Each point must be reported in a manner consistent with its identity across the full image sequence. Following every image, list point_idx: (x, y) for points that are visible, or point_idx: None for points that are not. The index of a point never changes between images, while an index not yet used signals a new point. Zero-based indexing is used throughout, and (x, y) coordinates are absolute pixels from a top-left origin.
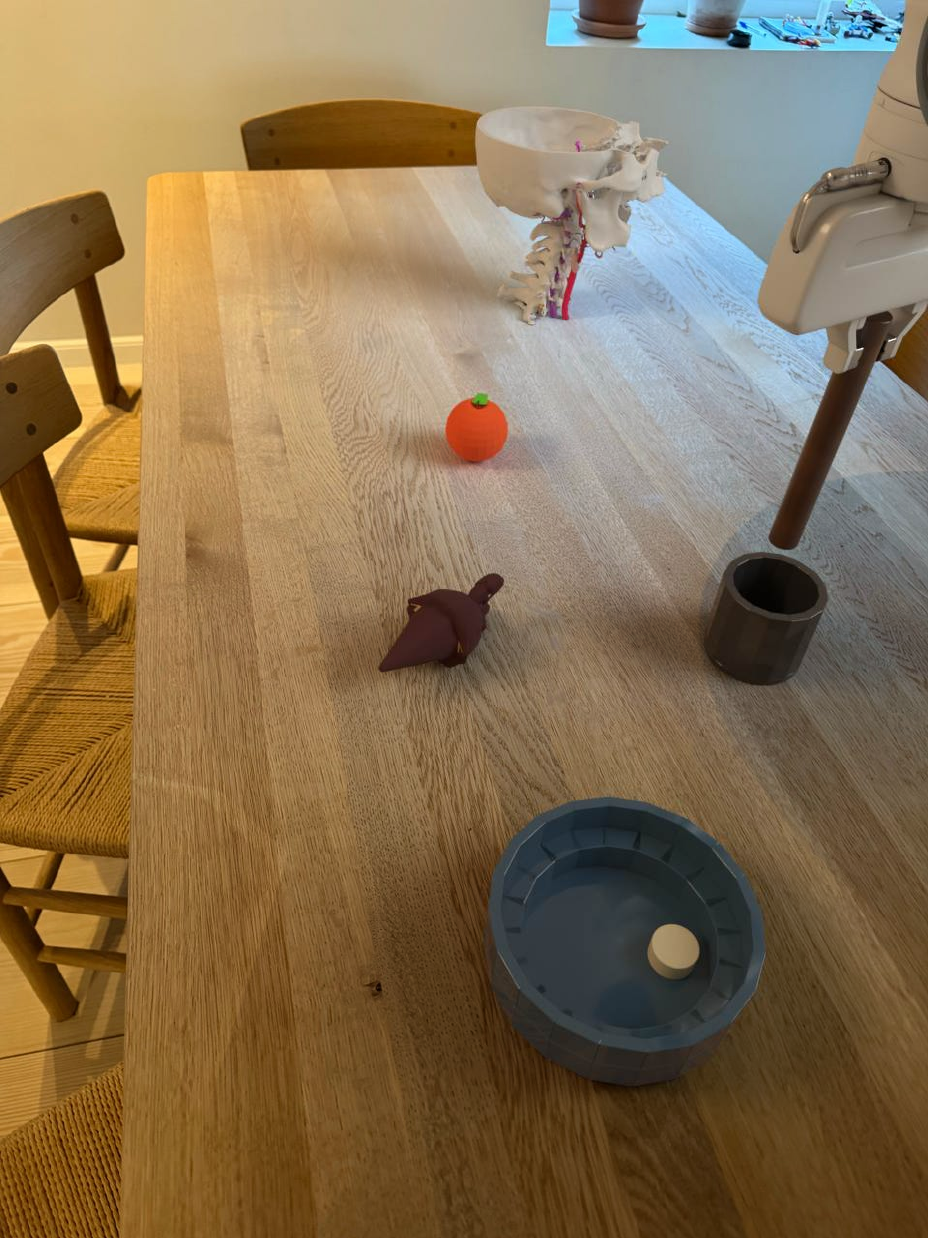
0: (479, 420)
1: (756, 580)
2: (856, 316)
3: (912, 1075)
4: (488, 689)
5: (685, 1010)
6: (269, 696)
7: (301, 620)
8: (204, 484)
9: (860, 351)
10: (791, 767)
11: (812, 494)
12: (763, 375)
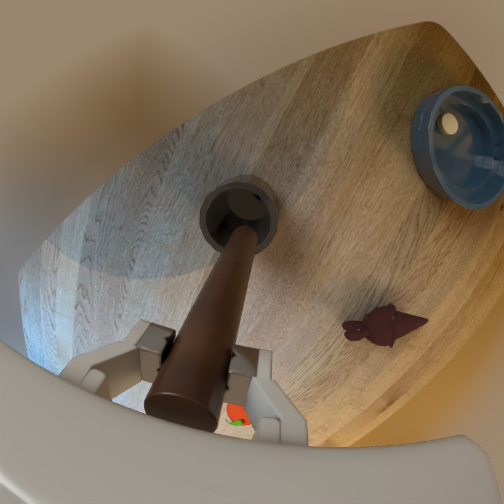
0: None
1: (222, 237)
2: (347, 454)
3: (401, 28)
4: (384, 284)
5: (454, 108)
6: (438, 334)
7: (399, 360)
8: (354, 428)
9: (235, 368)
10: (309, 133)
11: (244, 245)
12: (65, 337)
